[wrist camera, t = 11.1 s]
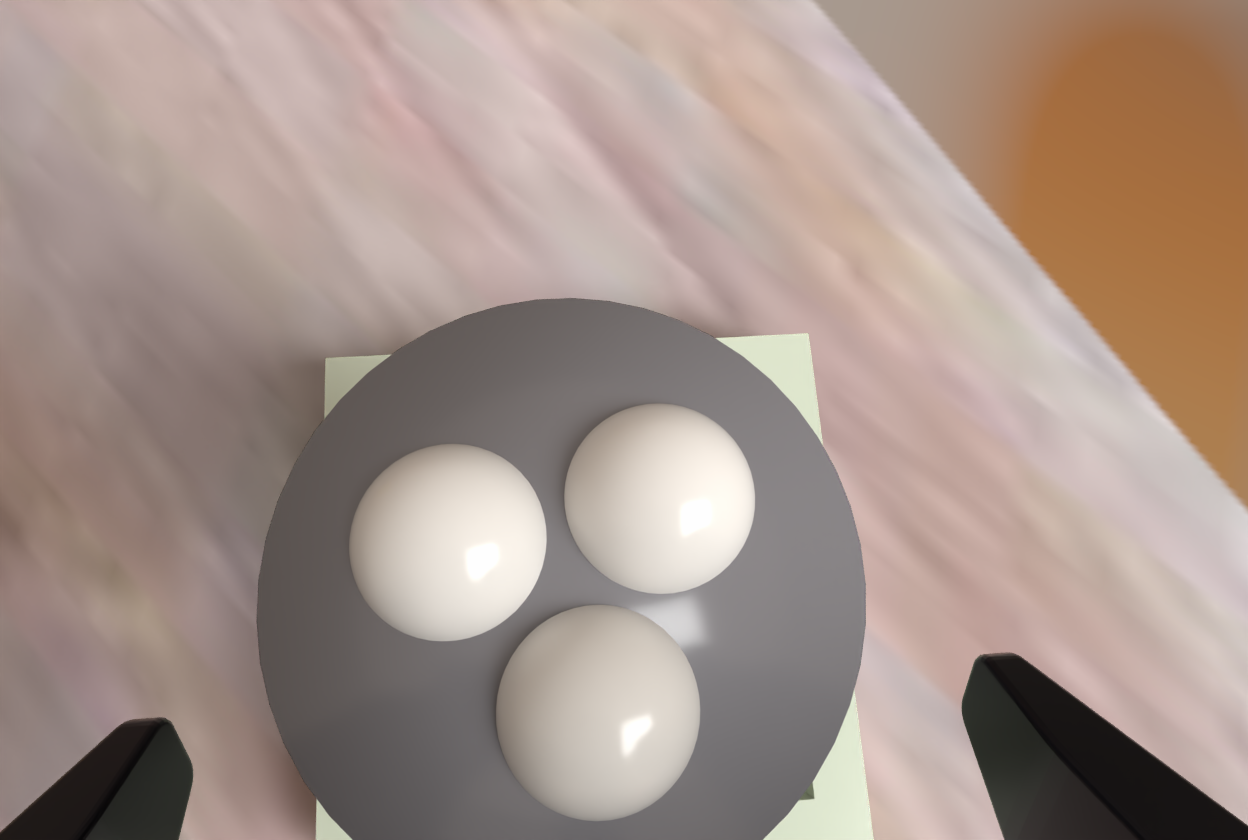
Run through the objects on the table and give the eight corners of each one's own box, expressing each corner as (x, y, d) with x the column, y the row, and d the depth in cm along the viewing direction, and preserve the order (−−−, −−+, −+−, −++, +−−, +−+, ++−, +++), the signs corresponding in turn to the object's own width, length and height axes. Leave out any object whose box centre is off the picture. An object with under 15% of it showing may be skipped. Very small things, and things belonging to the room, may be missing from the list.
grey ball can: (728, 617, 20) (1026, 645, 6) (562, 751, 19) (479, 1131, 5) (605, 457, 21) (627, 164, 7) (441, 577, 20) (98, 513, 6)
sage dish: (839, 822, 19) (875, 853, 17) (349, 865, 19) (314, 904, 16) (784, 363, 22) (808, 333, 20) (355, 385, 21) (325, 357, 19)
